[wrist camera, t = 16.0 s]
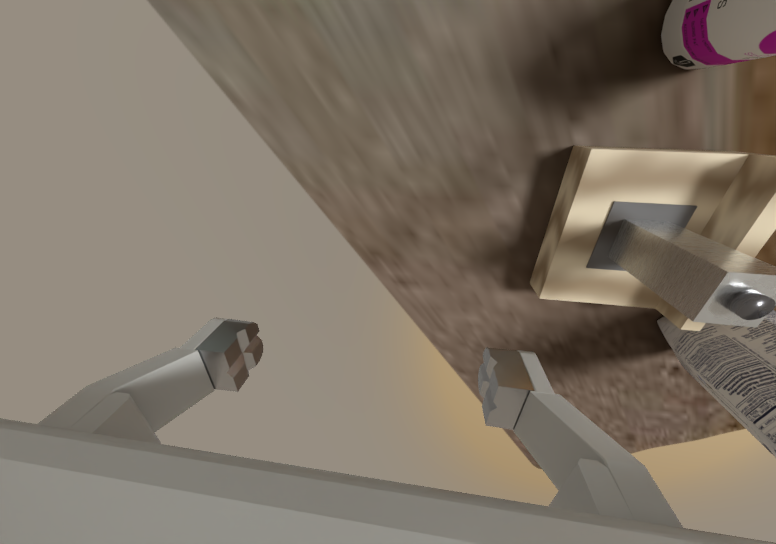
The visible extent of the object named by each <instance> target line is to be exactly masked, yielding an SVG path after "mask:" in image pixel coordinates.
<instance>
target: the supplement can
mask: <svg viewBox="0 0 776 544" xmlns="http://www.w3.org/2000/svg"><path fill="white" fill-rule="evenodd" d="M661 39H662V46H663V52H664V54H665V55H666V56H667V58H668V59H669V61H670V62H671V63H672V64H674V65H676V66H678V67H680V68H683V69H704V68H710V67H715V66H720V65H726V64H731V63H737V62H742V61H748V60H753V59H758V58H764V57H769V56H775V55H776V0H672V2H671V4H670V6H669V8H668V10H667V12H666V14H665V18H664V23H663V28H662V33H661Z"/></svg>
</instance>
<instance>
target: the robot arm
mask: <svg viewBox="0 0 776 544" xmlns="http://www.w3.org/2000/svg"><path fill="white" fill-rule="evenodd" d="M258 332H259V328H258V325H257V324H256V323H254V322H247V321H240V320H232V319H223V318H213V319H211V320H210V321H209V322H208V323H207V324H206V325H204V326H203V327H202V328H201V329H200V330H199V331H198V332H197V333H196V334H195V335H193V336H192V337H191V338H190V339H189V340H188V341H187V342H186V343H185V344H184V345H182V346H181V347H180V348H173V349H171V350H169V351H167V352H164V353H162V354H160V355H157V356H155V357H153V358H150V359H148V360H146V361H143V362H141V363H139V364H136V365H134V366H132V367H130V368H127V369H125V370H123V371H120V372H118V373H116V374H113V375H111V376H109V377H107V378H104V379H102V380H100V381H97V382H95V383H93V384H90V385H88V386H86V387H85V388H83V389H82V390H81V391H79V392H78V393H77V394H76V395H75V396H73V397H72V398H70V399H69V400H68V401H66V402H65V403H64V404H63V405H61V406H60V407H59V408H57V409H56V410H55V411H54V412H52V413H51V414H50V415H48V416H47V417H46V418H45V419H43V420H42V421H41V422H39V423H38V424H32V423H26V422H20V421H14V420H7V419H1V418H0V544H776V543H773V542H767V541H761V540H754V539H748V538H742V537H736V536H730V535H723V534H717V533H711V532H705V531H698V530H692V529H686V528H683V527H682V525H681V523H680V522H679V520H678V518H677V517H676V515H675V514H674V512H673V510H672V509H671V507H670V506H669V504H668V503H667V501H666V499H665V498H664V496H663V494H662V493H661V491H660V489H659V488H658V486H657V485H656V483H655V481H654V480H653V478H652V477H651V475H650V474H649V472H648V470H647V469H646V467H645V466H644V465H643V464H642V463H641V462H639V461H638V460H637V459H636V458H635V457H633V456H632V455H631V454H630V453H629V452H627V451H626V450H625V449H624V448H623V447H621V446H620V445H619V444H618V443H617V442H616V441H614V440H613V439H612V438H611V437H610V436H608V435H607V434H606V433H605V432H604V431H602V430H601V429H600V428H599V427H598V426H596V425H595V424H594V423H593V422H592V421H590V420H589V419H588V418H587V417H586V416H585V415H583V414H582V413H581V412H580V411H579V410H577V409H576V408H575V407H574V406H573V405H571V404H570V403H569V402H568V401H567V400H565V399H564V398H563V397H562V396H561V395H559V394H554V392H553V390H552V387H551V385H550V383H549V381H548V379H547V377H546V375H545V373H544V370H543V368H542V366H541V364H540V362H539V360H538V358H537V356H536V354H535V353H534V352H530V351H519V350H517V351H516V350H507V349H497V348H487V347H486V349H485V350H484V353H483V359H484V363H483V364H482V365H480V369H479V375H478V385H479V392H480V395H481V396H482V397H483V398H484V401H483V405H482V408H483V413H484V418H485V424H486V425H487V426H493V427H499V428H505V429H511V430H514V432H515V434H516V435H517V436H518V438H519V439H520V440H521V442H522V443H523V444H524V446H525V447H526V448H527V450H528V451H529V452H530V454H531V455H532V456H533V457H534V459H535V460H536V461H537V463H538V464H539V465H540V467H541V468H542V469H543V471H544V472H545V473H546V474H547V476H548V477H549V479H550V480H551V481H552V482H553V484H554V485H555V486H556V488H557V489H558V490H559V491H558V493H557V494H556V496H555V497H554V499H553V500H552V502H551V504H550V505H549V507H548V506H542V505H535V504H530V503H523V502H517V501H510V500H505V499H498V498H492V497H486V496H480V495H474V494H467V493H461V492H454V491H449V490H442V489H436V488H430V487H424V486H418V485H411V484H405V483H399V482H392V481H386V480H380V479H374V478H368V477H362V476H355V475H349V474H343V473H337V472H330V471H325V470H319V469H312V468H306V467H300V466H294V465H288V464H281V463H274V462H269V461H263V460H256V459H250V458H244V457H237V456H231V455H225V454H218V453H213V452H206V451H200V450H194V449H188V448H182V447H175V446H169V445H163V444H161V442H160V440H159V439H158V438H157V436H156V435H155V433H154V432H156V431H157V430H159V429H160V428H161V427H163V426H164V425H166V424H167V423H169V422H170V421H172V420H173V419H174V418H176V417H177V416H179V415H180V414H181V413H183V412H184V411H186V410H187V409H188V408H190V407H192V406H193V405H194V404H196V403H197V402H199V401H200V400H202V399H203V398H204V397H206V396H207V395H209V394H210V393H212V392H213V391H214V389H218V390H227V391H237V392H238V391H239V389H240V388H241V386H242V385H243V384H244V382H245V381H246V379H247V378H248V377H249V371H248V370H250V369H252V368H253V367H255V366H256V365H257V364H258V362H259V361H260V358H261V356H262V353H263V343H262V340H261V339H260V338H259V337H258V336H257V334H258Z"/></svg>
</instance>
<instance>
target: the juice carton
mask: <svg viewBox="0 0 776 544" xmlns="http://www.w3.org/2000/svg"><path fill="white" fill-rule="evenodd" d="M657 323H658V325H659V327H660V329H661V331H662V333H663V335H664V337H665V338H666V340H667V342H668V344H669V345H670V347H671V348H672V349H673V351H674V353H675V355H676V357H677V358H678V360H679V362H680V363H681V365H682V366H683V367H684V368H685V369H686V370H687V371H688V372H689V373H690V374H691V375H692V376H693V377H694V378H695V379H696V380H697V381H698V382H699V383H700V384H701V385H702V386H703V387H704V388H705V389H706V390H707V391H708V392H709V393H710V394H711V395H712V396H713V397H714V398H715V399H716V400H717V401H718V402H719V403H720V404H721V405H722V406H723V407H724V408H725V409H726V410H727V411H728V412H729V413H730V414H731V415H733V416H734V417H735V418H736V419H737V420H738V421H739V422H740V423H741V424H742V425H743V426H744V427H745V428H746V429H747V430H748V431H749V432H750V433H751V434H752V435H753V436H754V437H755V438H756V439H757V440H758V441H759V442H760V443H761V444H762V445H763V446H764V447H766V448H767V449H768V450H769V451H770V452H771V453H772V454H773V455H774V456H775V457H776V312H775V311H774V310H773V311H772V312H770V313H769V314H768V315H767V316H766V317H765V318H764V320H763V321H762V322H761V323H760V324H759V325H758V326H757V328H756V327H745V326H734V325H724V324H713V323H706V324H705V325H704V326H703V328H702V329H701V330H700V331H691V330H681V329H679V328H678V327H677V326H676V325H674V324H673V323H672V322H671V321H670V320H668V319H667V318H666V317H663V318H660V319H659V320H657Z"/></svg>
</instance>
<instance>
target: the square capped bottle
mask: <svg viewBox="0 0 776 544" xmlns="http://www.w3.org/2000/svg"><path fill="white" fill-rule="evenodd" d="M607 257H609V258H610V259H611V260H613V261H614V262H615V263H617V264H618V265H619V266H620V267H622V268H623V269H624V270H626V271H627V272H628V273H630V274H631V275H632V276H634V277H635V278H636V279H638V280H639V281H640V282H641V283H643V284H644V285H645V286H647V287H648V288H649V289H651V290H652V291H653V292H655V293H656V294H657V295H659V296H660V297H661V298H662V299H664V300H665V301H666V302H668V303H669V304H670V305H672V306H673V307H674V308H676V309H677V310H678V311H679V312H681V313H682V314H683V315H685V316H686V317H687V318H689V319H690V320H691V321H693V322H702V323H713V324H724V325H734V326H745V327H756V328H757V326H758V325H759V324H760V323H761V322H762V321H763V320H764V318H765V317H766V316H767V315H768V314H769V313H770V312H772V311H773V309H774V308H775V306H776V267H774V266H772V265H770V264H767V263H765V262H763V261H760V260H758V259H756V258H753V257H751V256H749V255H746V254H744V253H741V252H739V251H737V250H734V249H732V248H730V247H727V246H725V245H723V244H720V243H718V242H716V241H713V240H711V239H708V238H706V237H704V236H701V235H699V234H697V233H694V232H692V231H690V230H687V229H685V228H683V227H680V226H678V225H675V224H673V223H671V222H663V221H646V220H630V219H624V221H623V223H622V225H621V227H620V230H619V232H618V234H617V236H616V238H615V241H614V243H613V245H612V247H611V249H610V252H609V254H608V256H607Z"/></svg>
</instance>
